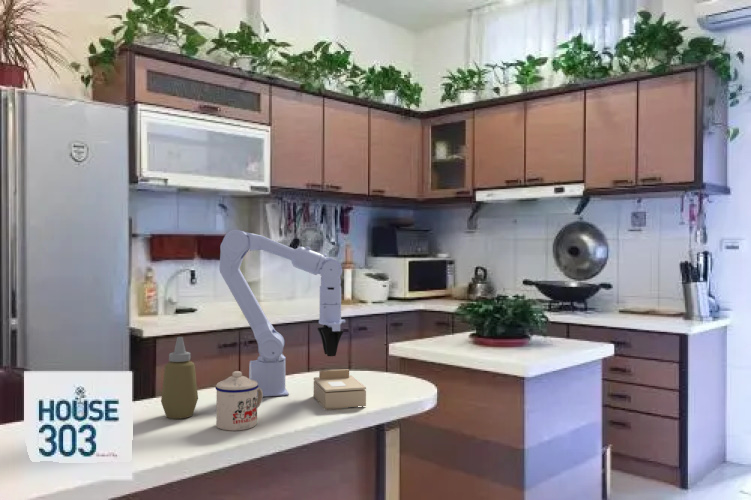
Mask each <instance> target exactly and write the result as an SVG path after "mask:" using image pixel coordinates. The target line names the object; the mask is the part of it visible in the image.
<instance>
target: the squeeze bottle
mask: <svg viewBox="0 0 751 500" xmlns="http://www.w3.org/2000/svg"><path fill="white" fill-rule="evenodd" d="M191 354H192V353H191V352H190V351H186V346H185V341H184V337H183V336H177V338H176V342H175V346H174V351H173V352H170V353H169V354H168V361H169V362H167V363H166V364H165V365H164V370H163V371H164V372H163V378H162V391H161V398H160V399H161V400H160V402H161V405H162V408H163V412H164V415H165V417H166V418H168V419H176V420H177V419H178V420H179V419H181V420H182V419H187V418H190V417H192V416H194V413H195V411H196V406H197V405H198V400H199V395H198V384H197V374H196V365H195V363H194V362H193V361H190V360H191Z"/></svg>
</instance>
